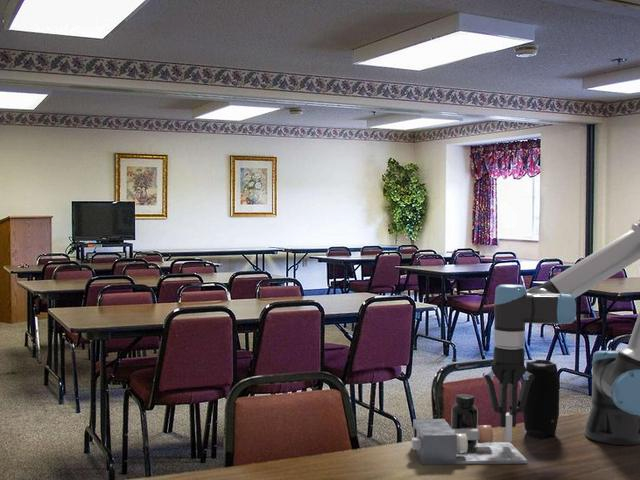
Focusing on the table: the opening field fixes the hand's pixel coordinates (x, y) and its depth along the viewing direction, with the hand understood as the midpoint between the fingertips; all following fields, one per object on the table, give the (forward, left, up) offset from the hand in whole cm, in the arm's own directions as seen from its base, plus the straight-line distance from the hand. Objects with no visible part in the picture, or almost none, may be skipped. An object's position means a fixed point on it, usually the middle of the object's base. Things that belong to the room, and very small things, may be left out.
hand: (507, 439), depth 192 cm
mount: (+11, +4, -3) cm, 12 cm away
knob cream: (+19, +7, -1) cm, 20 cm away
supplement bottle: (+9, -7, -3) cm, 12 cm away
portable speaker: (-13, -12, -3) cm, 18 cm away
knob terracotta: (+11, 0, -1) cm, 11 cm away
